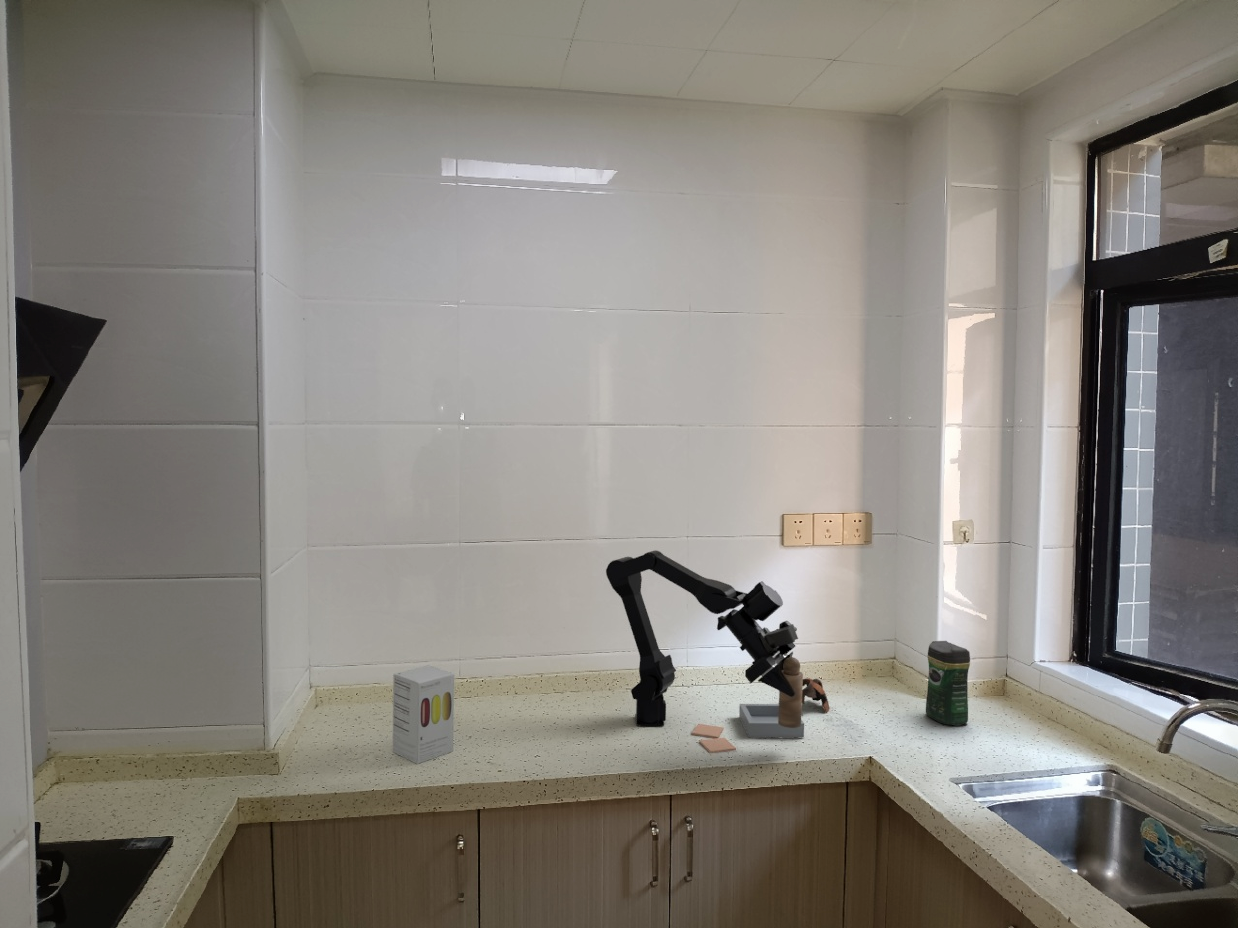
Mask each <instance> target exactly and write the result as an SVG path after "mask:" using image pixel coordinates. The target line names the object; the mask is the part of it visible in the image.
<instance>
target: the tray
mask: <svg viewBox="0 0 1238 928" xmlns="http://www.w3.org/2000/svg"><path fill="white" fill-rule="evenodd" d="M738 708H739V709H738V710H739V716H738V717H739V720H740V722H741V724H742V726H743V728H744V730H745V732H746V734H747V737H748V738H755V739H757V738H758V739H759V738H763V739H765V738H766V739H767V738H768V739H778V738H777V737H804V738H805V723H804V721H803V720H802V719H801V726H800V727H797V728H788V727H784V726H781V725H780V724H779V723H778V716H779V703H739V707H738ZM771 737H773V738H771ZM774 737H775V738H774Z"/></svg>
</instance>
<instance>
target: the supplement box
mask: <svg viewBox="0 0 1238 928" xmlns="http://www.w3.org/2000/svg"><path fill="white" fill-rule="evenodd" d="M392 679H393V682H392V683H393V685H392V686H393V688H392V690H393V692H392V693H393V695H392V697H393V698H392V750H391V751H392V753H395V754H396V755H398V756H400V757H402V758H404V759H407V760H408V761H411V762H413V763H414V764H416V765H419V764H420V763H421V764H422V763H424V762H427V761H429V760H432V759H435V758H437V757H440V756H441V757H442V756H444V755H446V754H449V753H451V752H454V725H455V724H454V723H455V721H454V720H455V719H454V716H455V715H454V714H455V711H454V710H455V673H452V672H451V671H448V670H446V669H445V670H444V669H441V668H438V667H437V666H436V667H435V666H433V665H429V664H428V665H425V666H422V667H421V666H420V667H417V668H414V669H410V670H405V671H400V672H395V673H393V677H392Z"/></svg>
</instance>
